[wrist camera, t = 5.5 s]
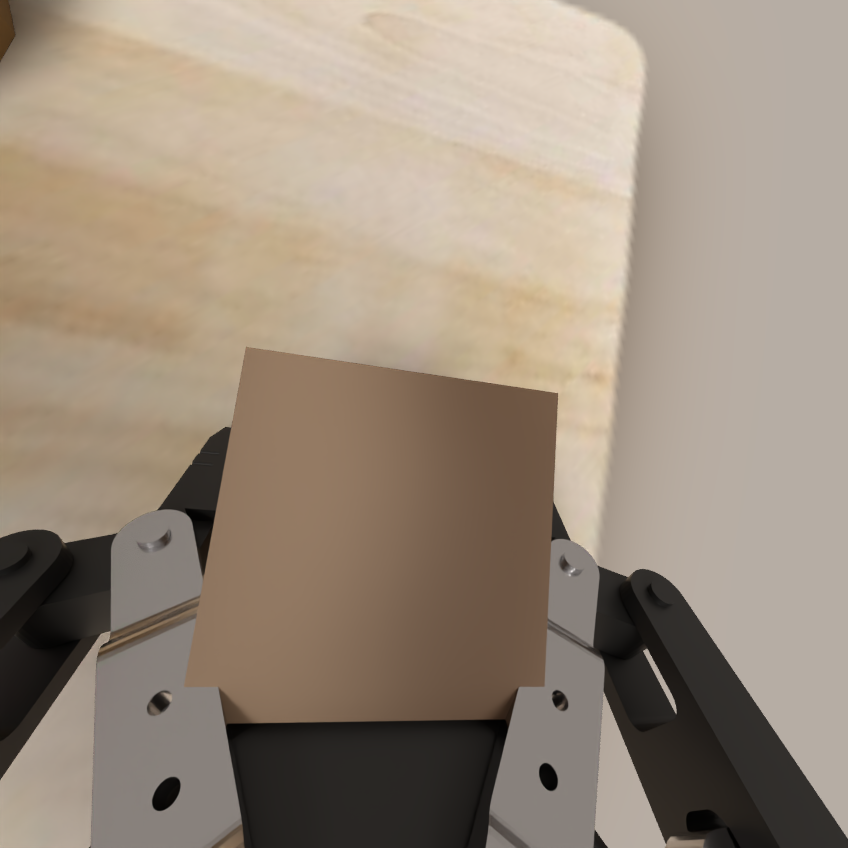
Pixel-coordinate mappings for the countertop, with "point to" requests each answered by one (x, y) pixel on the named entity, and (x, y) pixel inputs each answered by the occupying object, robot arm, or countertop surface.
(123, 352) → the countertop surface
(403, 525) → the walnut block
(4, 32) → the flowerpot
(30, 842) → the countertop surface
